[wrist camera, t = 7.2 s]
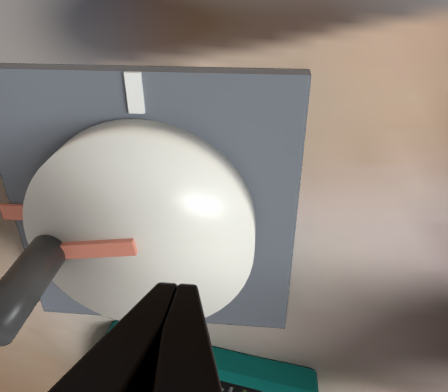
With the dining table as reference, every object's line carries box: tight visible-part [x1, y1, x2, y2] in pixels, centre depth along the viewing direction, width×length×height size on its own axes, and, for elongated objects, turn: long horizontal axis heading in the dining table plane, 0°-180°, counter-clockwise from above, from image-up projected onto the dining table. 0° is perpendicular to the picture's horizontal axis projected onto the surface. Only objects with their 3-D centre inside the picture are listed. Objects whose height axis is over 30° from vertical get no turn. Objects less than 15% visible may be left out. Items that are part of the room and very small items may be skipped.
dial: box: [0, 119, 256, 346], centre depth 18 cm, size 11×11×7 cm
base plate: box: [0, 63, 311, 329], centre depth 22 cm, size 16×15×1 cm
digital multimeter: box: [106, 321, 318, 392], centre depth 29 cm, size 7×15×3 cm, turn 76°
